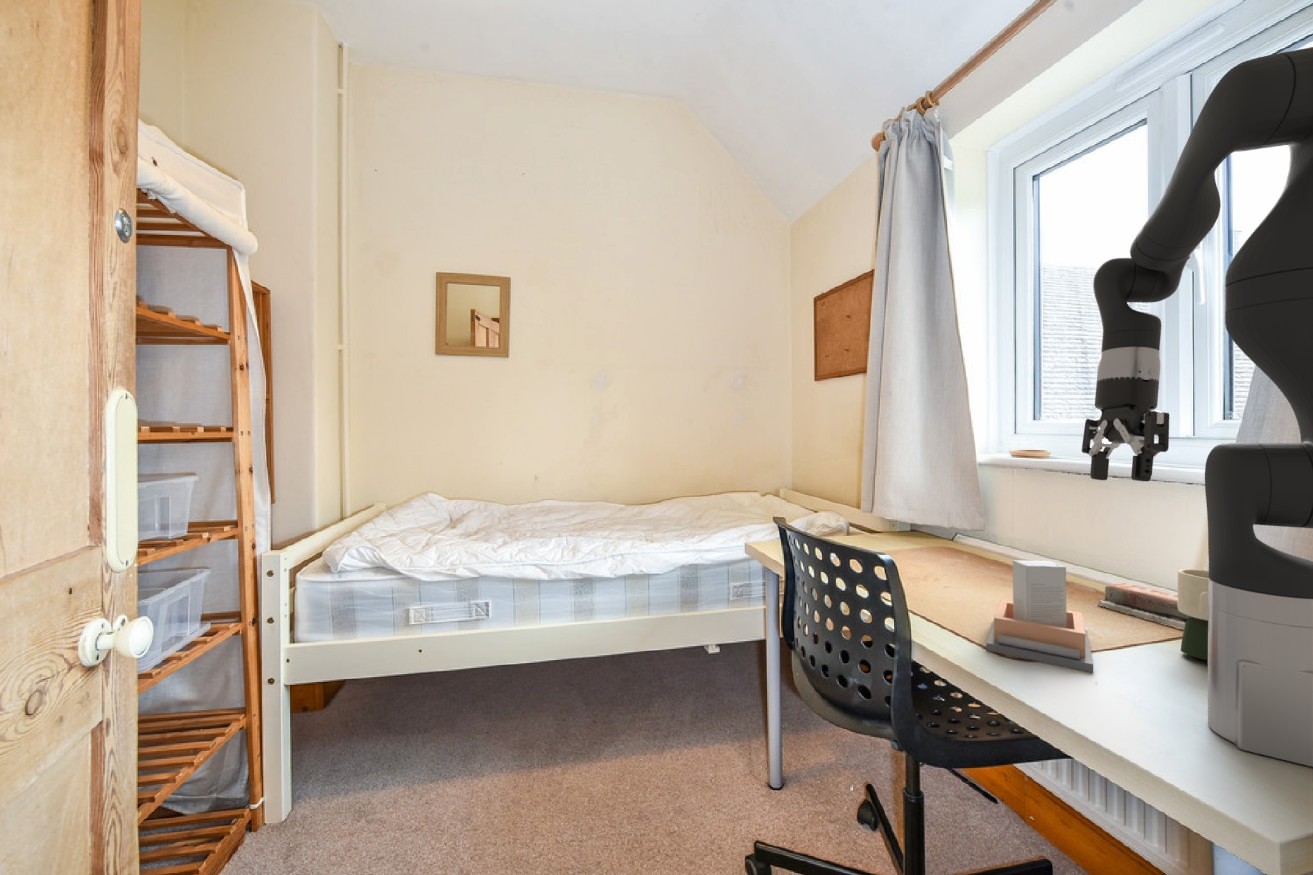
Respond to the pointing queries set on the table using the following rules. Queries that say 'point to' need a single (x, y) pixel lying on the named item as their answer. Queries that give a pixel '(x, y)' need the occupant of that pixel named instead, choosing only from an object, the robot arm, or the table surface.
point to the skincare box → (1039, 592)
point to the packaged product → (1144, 603)
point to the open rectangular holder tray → (1041, 639)
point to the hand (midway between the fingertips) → (1118, 480)
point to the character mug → (1194, 611)
